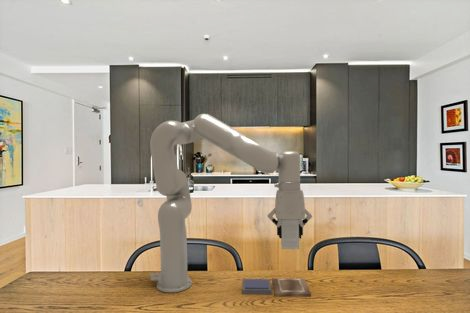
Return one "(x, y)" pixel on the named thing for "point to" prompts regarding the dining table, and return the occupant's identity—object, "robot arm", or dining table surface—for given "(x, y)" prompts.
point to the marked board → (291, 287)
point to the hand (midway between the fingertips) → (289, 236)
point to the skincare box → (290, 234)
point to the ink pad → (256, 286)
